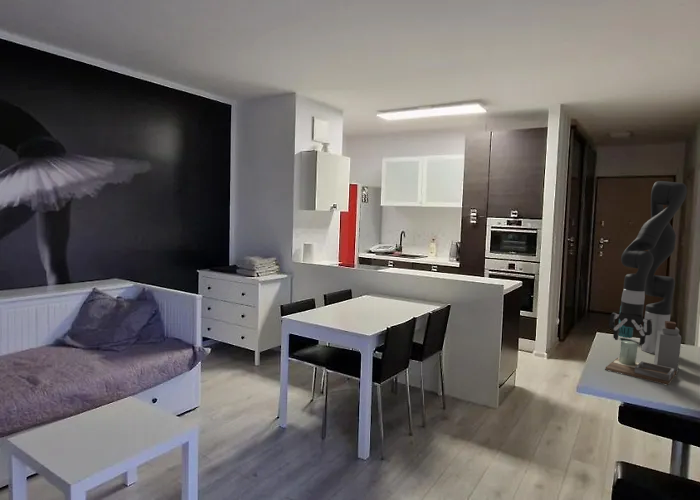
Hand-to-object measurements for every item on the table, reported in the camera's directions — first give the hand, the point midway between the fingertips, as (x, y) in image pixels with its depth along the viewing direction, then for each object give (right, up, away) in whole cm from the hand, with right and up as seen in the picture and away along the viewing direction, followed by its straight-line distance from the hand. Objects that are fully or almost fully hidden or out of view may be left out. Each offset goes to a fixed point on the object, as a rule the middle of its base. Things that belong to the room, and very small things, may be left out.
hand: (628, 342), depth 184 cm
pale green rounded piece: (-1, -8, 0) cm, 8 cm away
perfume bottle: (+15, -10, +1) cm, 18 cm away
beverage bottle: (+22, -7, +40) cm, 46 cm away
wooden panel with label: (+1, -10, -6) cm, 12 cm away
